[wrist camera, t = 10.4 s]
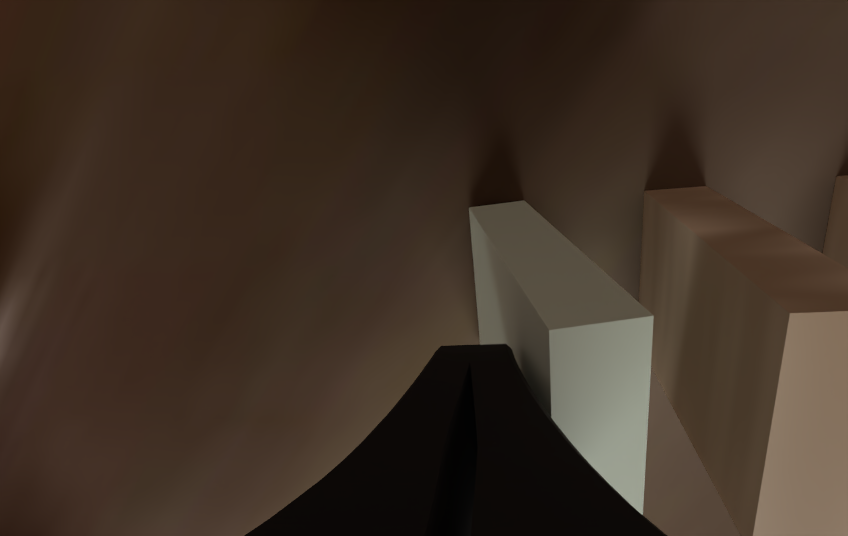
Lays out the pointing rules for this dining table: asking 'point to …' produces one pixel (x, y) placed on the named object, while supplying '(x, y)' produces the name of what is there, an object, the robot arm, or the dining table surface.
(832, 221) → the maple domino
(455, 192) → the dining table surface
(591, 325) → the sage domino
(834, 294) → the maple domino
